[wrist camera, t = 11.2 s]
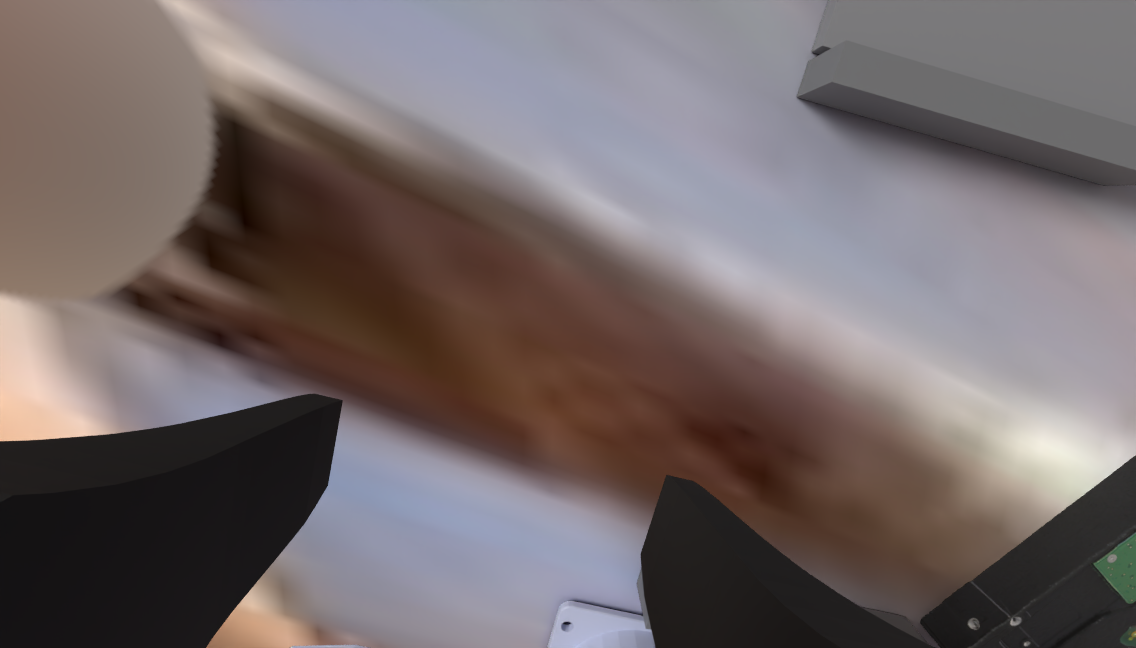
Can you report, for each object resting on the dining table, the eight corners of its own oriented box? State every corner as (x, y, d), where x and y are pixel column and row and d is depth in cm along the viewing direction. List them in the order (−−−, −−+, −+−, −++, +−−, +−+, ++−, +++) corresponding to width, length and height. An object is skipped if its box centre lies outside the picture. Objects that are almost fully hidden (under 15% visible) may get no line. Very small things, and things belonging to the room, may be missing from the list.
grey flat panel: (895, 639, 24) (932, 688, 21) (636, 583, 23) (645, 628, 21) (1239, -105, 18) (1348, -153, 15) (900, -218, 17) (958, -290, 14)
